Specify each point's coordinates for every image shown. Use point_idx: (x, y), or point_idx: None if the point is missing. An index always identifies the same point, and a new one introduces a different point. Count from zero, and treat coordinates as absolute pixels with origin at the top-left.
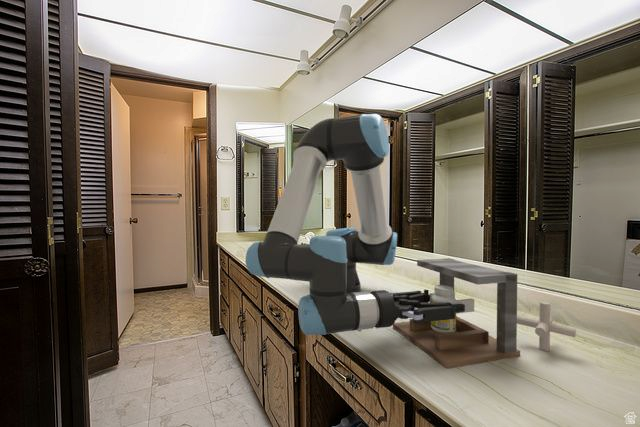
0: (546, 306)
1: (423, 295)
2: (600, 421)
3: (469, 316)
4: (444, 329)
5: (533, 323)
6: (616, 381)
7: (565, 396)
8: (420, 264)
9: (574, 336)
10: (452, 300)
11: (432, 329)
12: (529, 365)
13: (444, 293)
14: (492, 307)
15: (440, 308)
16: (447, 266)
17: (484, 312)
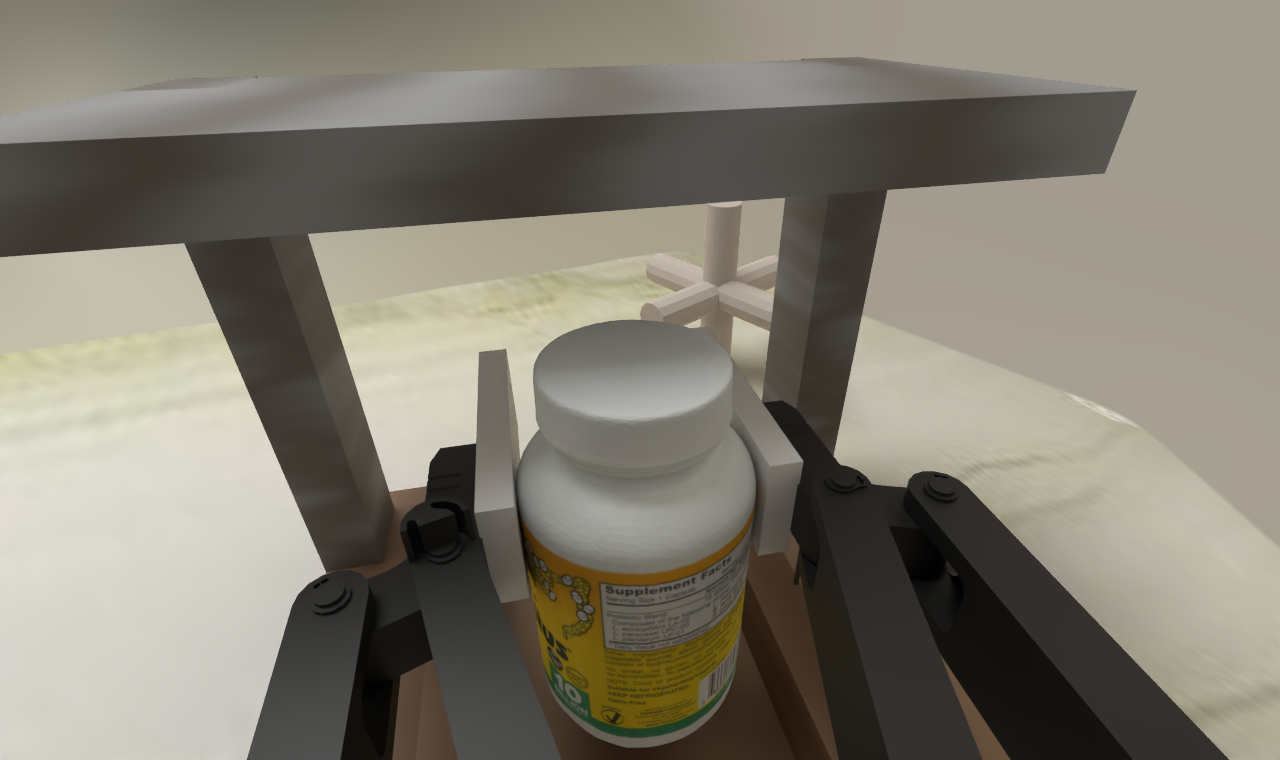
0: (740, 213)
1: (501, 607)
2: (1200, 478)
3: None
4: (735, 666)
5: (707, 303)
6: (898, 345)
7: (1078, 479)
8: (13, 215)
9: None
10: (751, 430)
11: None
12: (864, 460)
13: (728, 419)
14: None
15: (1095, 621)
16: (567, 103)
17: None
